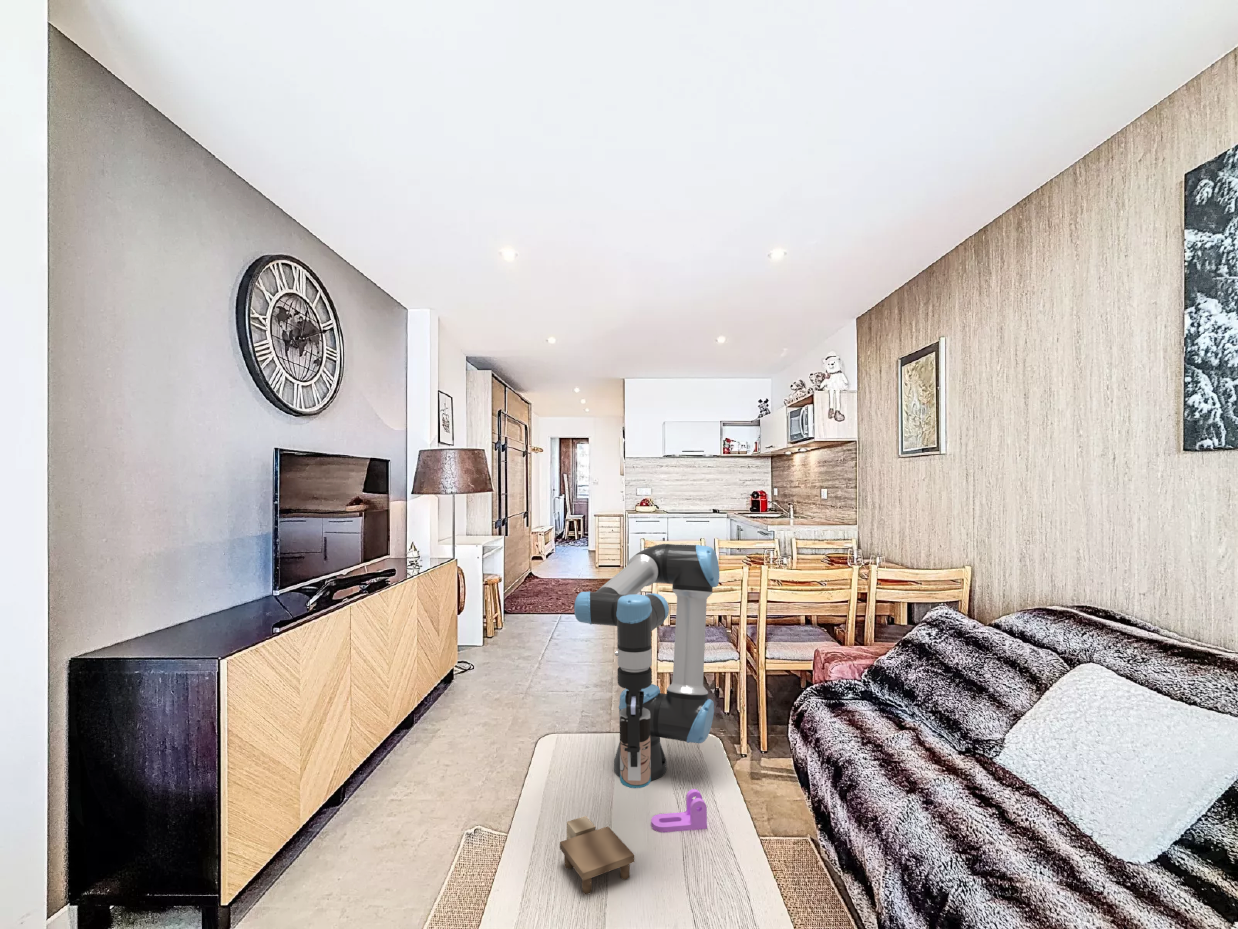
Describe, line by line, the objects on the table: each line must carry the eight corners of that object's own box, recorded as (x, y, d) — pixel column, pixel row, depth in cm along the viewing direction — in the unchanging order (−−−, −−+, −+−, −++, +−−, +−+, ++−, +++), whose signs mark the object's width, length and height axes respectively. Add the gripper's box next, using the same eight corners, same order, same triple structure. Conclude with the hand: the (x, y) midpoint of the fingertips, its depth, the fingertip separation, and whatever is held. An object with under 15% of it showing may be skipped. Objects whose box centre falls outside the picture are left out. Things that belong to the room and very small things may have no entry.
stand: (608, 847, 143) (608, 826, 143) (634, 878, 133) (634, 854, 133) (560, 864, 138) (559, 841, 138) (583, 897, 127) (583, 873, 127)
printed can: (615, 785, 136) (615, 716, 136) (625, 770, 142) (625, 704, 142) (645, 790, 134) (644, 720, 134) (654, 775, 140) (653, 708, 140)
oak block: (586, 836, 148) (586, 815, 148) (595, 848, 143) (595, 826, 143) (566, 843, 145) (566, 821, 145) (575, 855, 141) (575, 833, 141)
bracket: (700, 816, 156) (700, 788, 156) (706, 829, 150) (706, 800, 150) (649, 820, 154) (649, 792, 154) (653, 833, 149) (653, 804, 149)
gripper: (620, 653, 148) (621, 750, 148) (613, 682, 128) (614, 794, 128) (652, 653, 147) (653, 751, 147) (650, 682, 128) (651, 795, 128)
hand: (635, 771), depth 138 cm, fingers closed on printed can, 7 cm apart
